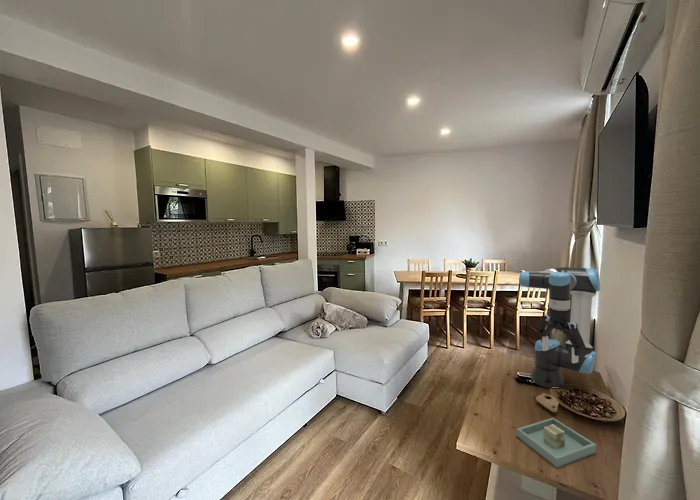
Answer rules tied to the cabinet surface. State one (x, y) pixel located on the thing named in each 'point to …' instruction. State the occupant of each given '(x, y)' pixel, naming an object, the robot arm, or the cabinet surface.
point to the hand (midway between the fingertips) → (559, 356)
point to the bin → (561, 456)
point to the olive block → (554, 436)
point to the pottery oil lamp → (548, 402)
